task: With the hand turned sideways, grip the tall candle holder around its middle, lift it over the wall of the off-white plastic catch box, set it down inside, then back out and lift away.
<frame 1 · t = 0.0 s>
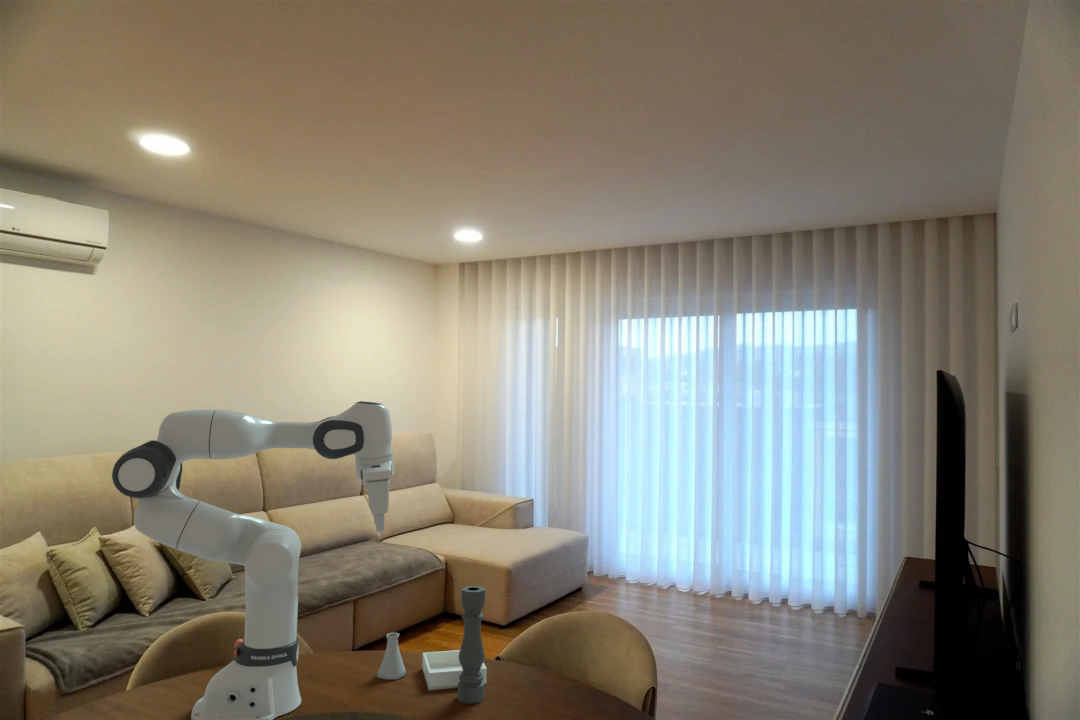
hand: (379, 527, 165), 39 cm above the table, tool pointing down, fingers open, 8 cm apart
catch box: (453, 676, 175), on the table
flask: (391, 676, 176), on the table
candle holder: (470, 698, 163), on the table
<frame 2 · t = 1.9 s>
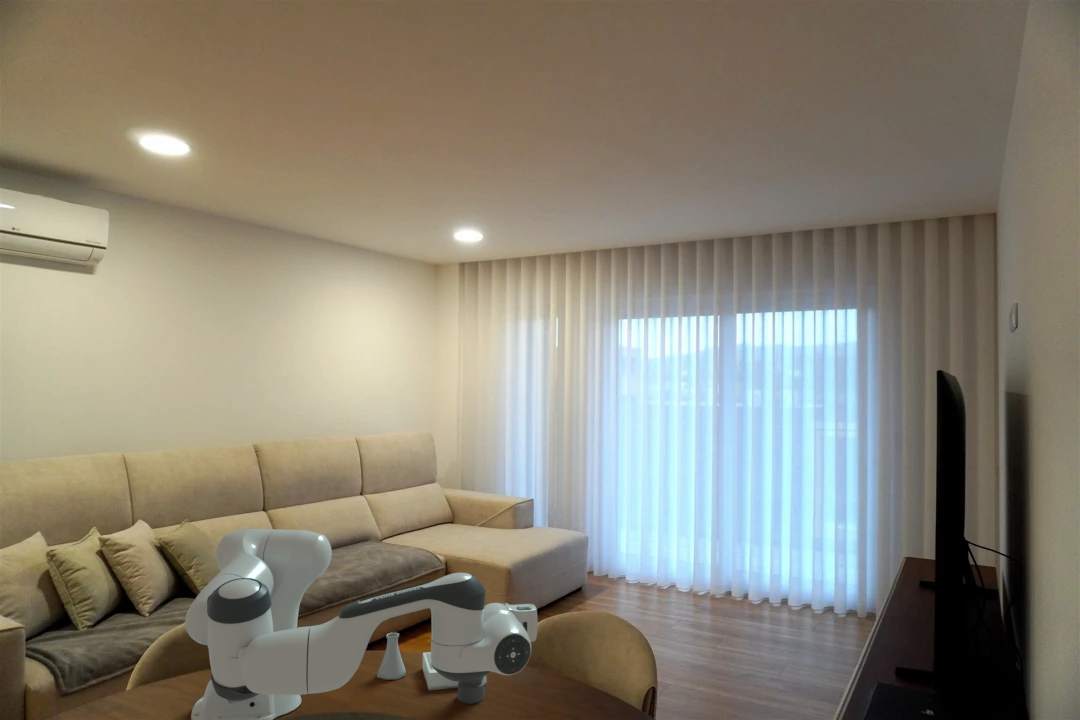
hand: (482, 607, 152), 24 cm above the table, tool horizontal, fingers open, 8 cm apart
nothing on the table moved.
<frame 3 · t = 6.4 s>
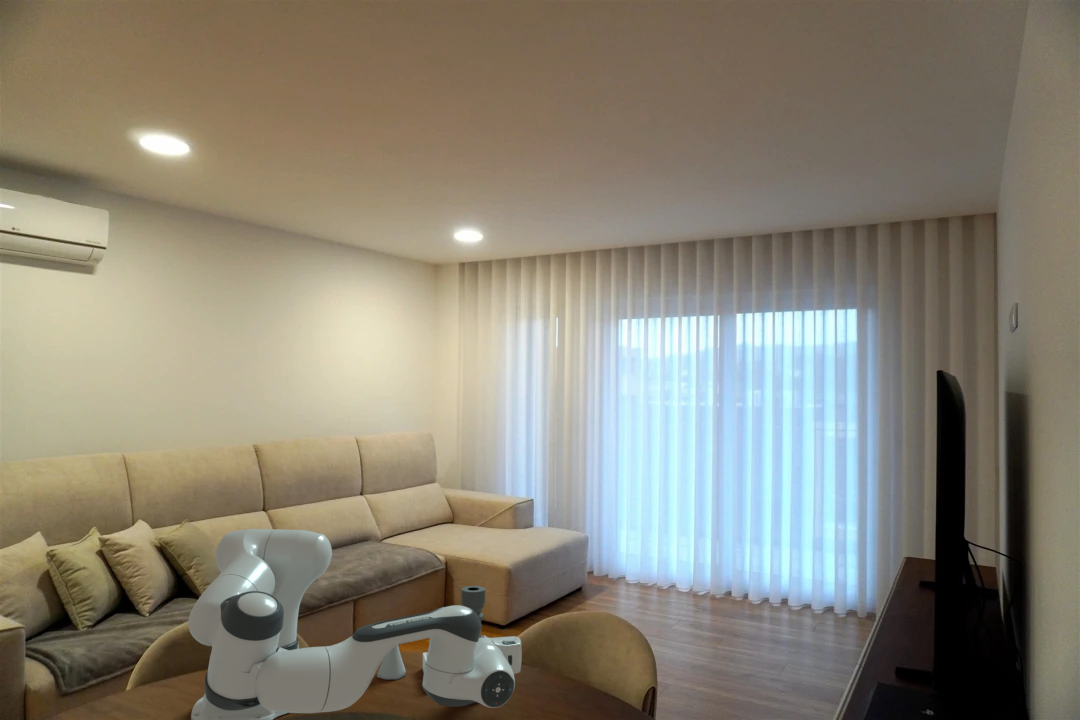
hand: (471, 639, 165), 13 cm above the table, tool horizontal, fingers closed on candle holder, 4 cm apart
candle holder: (470, 698, 163), on the table, touching gripper
everything else where it was.
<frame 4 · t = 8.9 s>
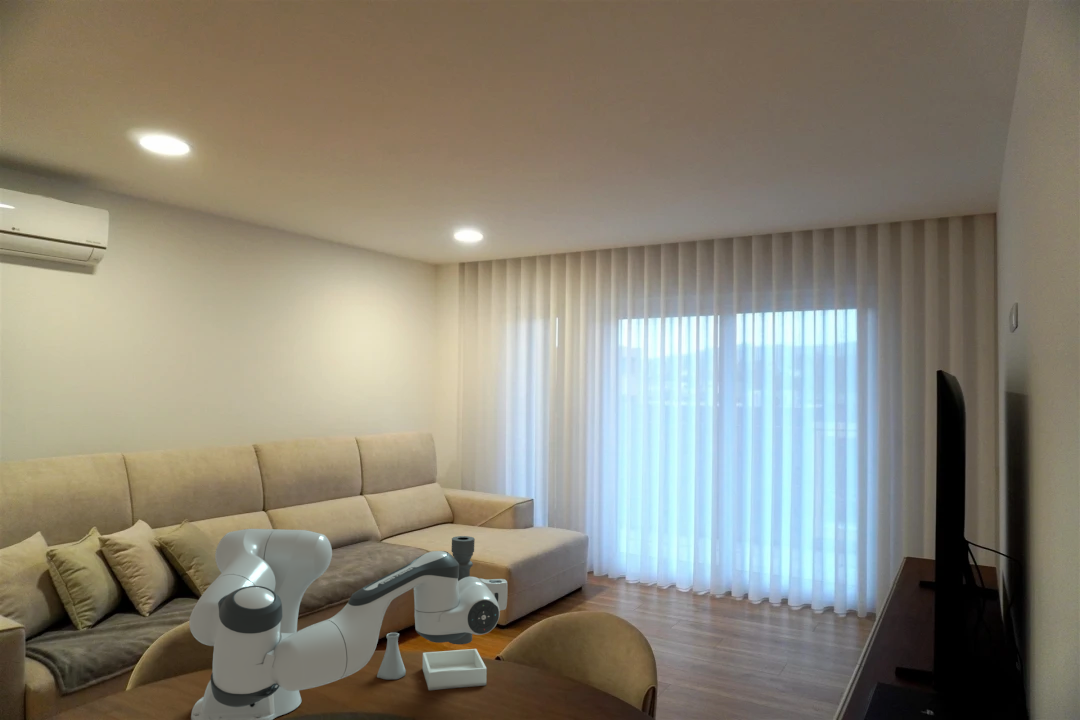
hand: (461, 582, 175), 24 cm above the table, tool horizontal, fingers closed on candle holder, 4 cm apart
candle holder: (459, 640, 174), point 10 cm above the table, touching gripper
everything else where it was.
when the fingers open (15 cm above the table, at t = 11.4 s): candle holder stays where it is, resting on catch box.
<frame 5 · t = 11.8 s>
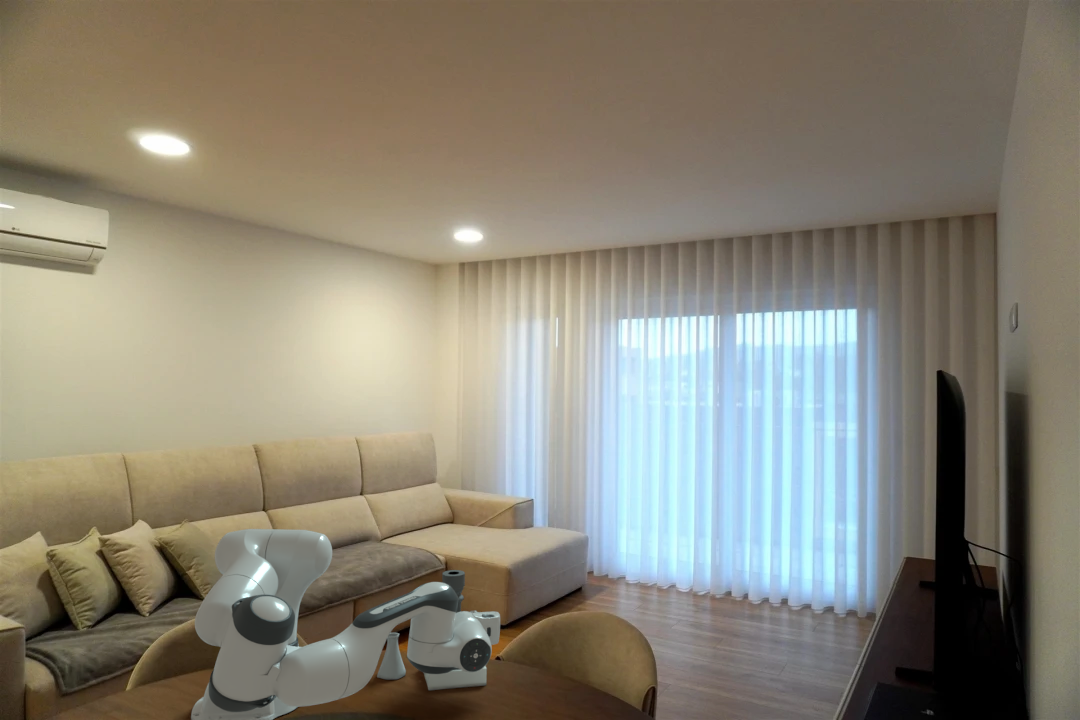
hand: (454, 614, 177), 15 cm above the table, tool horizontal, fingers open, 8 cm apart
candle holder: (452, 673, 176), point 1 cm above the table, touching catch box
everything else where it was.
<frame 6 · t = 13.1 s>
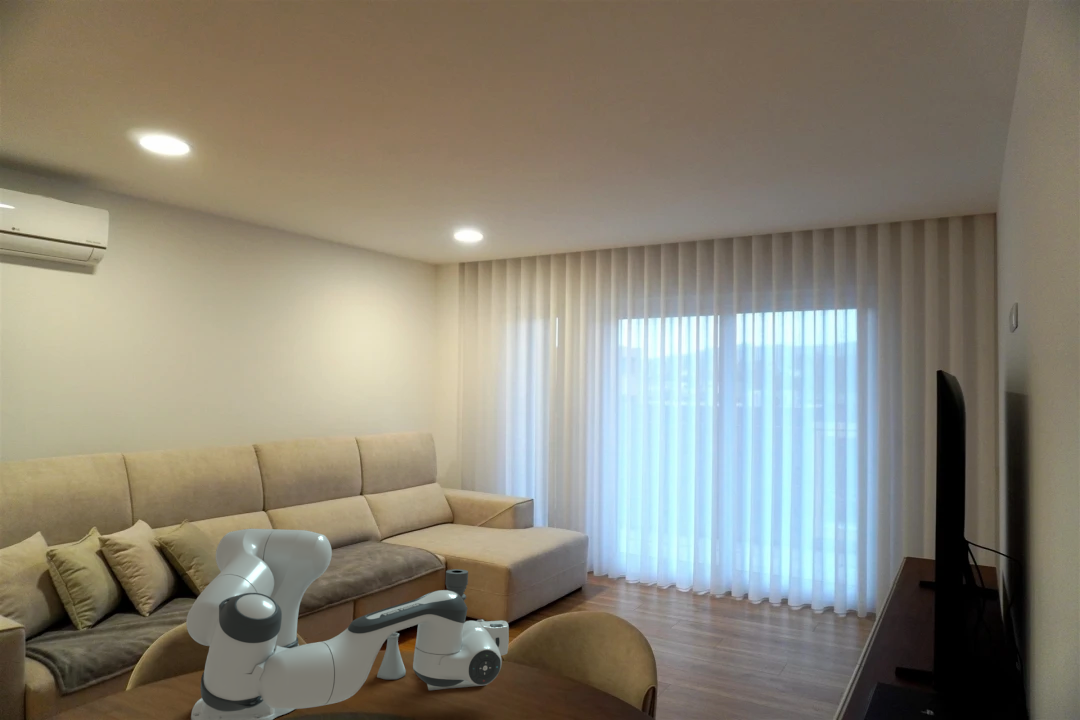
hand: (460, 624, 171), 15 cm above the table, tool horizontal, fingers open, 8 cm apart
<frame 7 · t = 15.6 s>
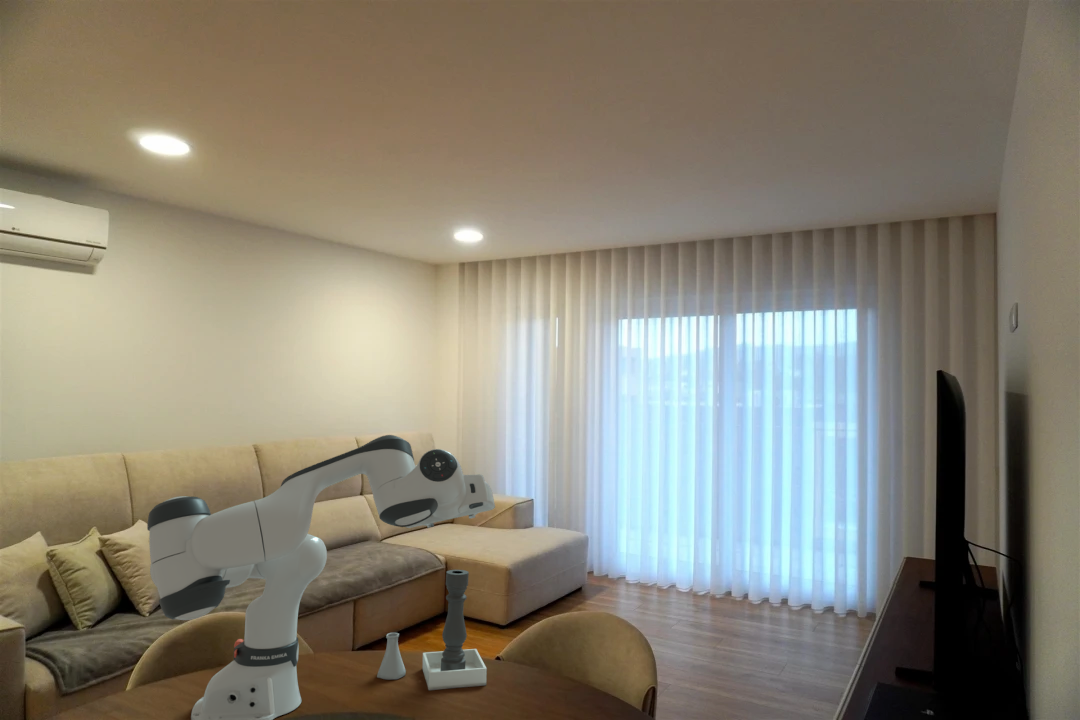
hand: (451, 519, 158), 42 cm above the table, tool tilted 60°, fingers open, 8 cm apart
nothing on the table moved.
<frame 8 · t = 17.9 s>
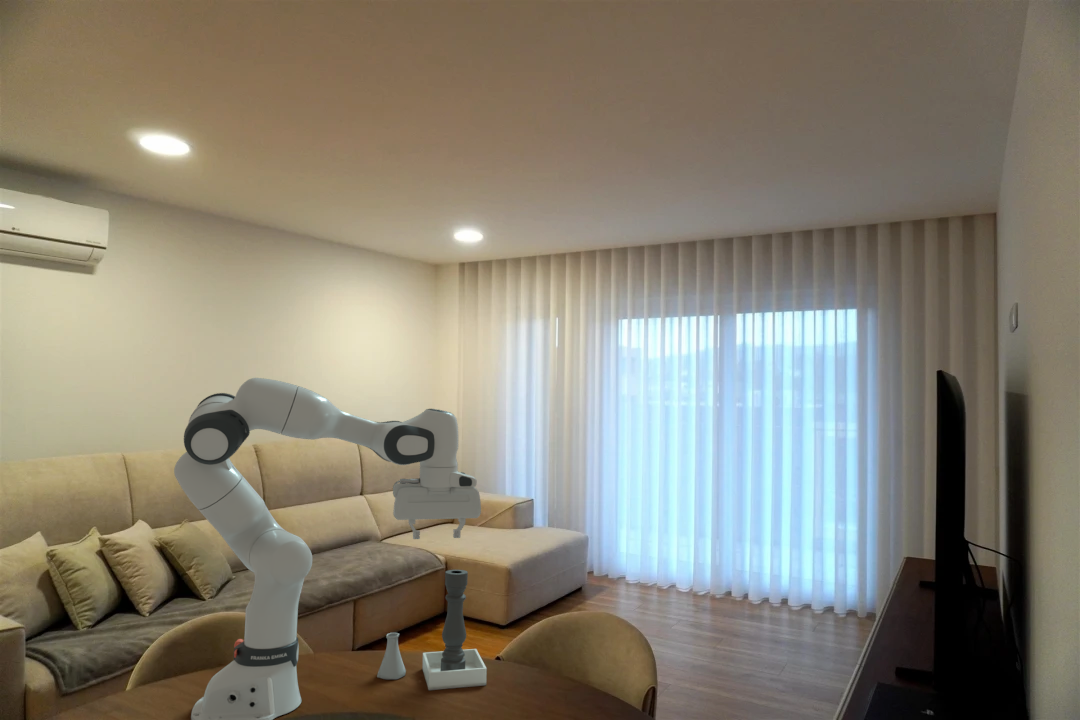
hand: (436, 538, 163), 37 cm above the table, tool pointing down, fingers open, 8 cm apart
nothing on the table moved.
at the end: candle holder inside the target area on the catch box (0.5 cm from its centre), point 0.5 cm above the catch box's base; candle holder tilted 1°; the gripper is holding nothing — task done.
